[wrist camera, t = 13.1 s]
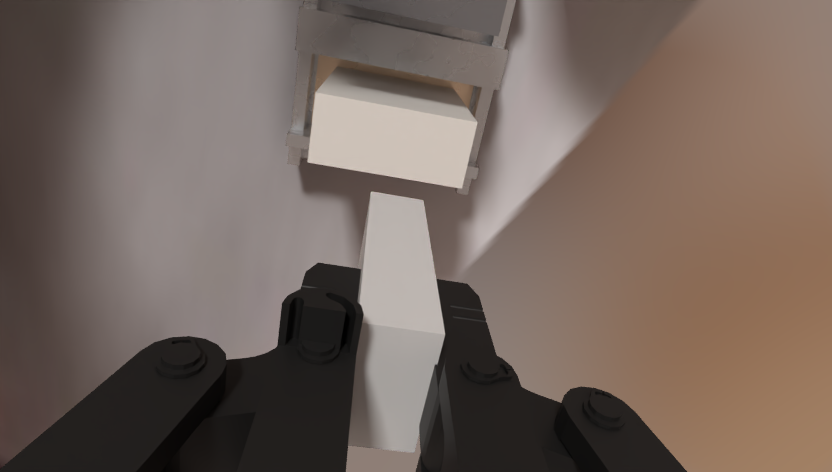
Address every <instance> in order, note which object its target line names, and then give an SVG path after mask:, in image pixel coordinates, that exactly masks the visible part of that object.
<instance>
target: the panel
mask: <svg viewBox="0 0 832 472" xmlns="http://www.w3.org/2000/svg"><path fill="white" fill-rule="evenodd" d="M477 123H478V122H477V121H476V119H475V118H474V117H473V115H472V114H471V112H470V111H469V110H468V108H467V107H466V105H465V104H464V102H463V101H462V100H461V98H460V97H459V95H458V94H457V92H456V91H455V90H454V89H452V88H447V87H442V86H437V85H432V84H426V83H421V82H416V81H411V80H406V79H400V78H395V77H390V76H385V75H380V74H374V73H369V72H364V71H359V70H354V69H349V68H343V67H338V66H337V67H336V68H335V70H334V71H333V72H332V73H331V74H330V76H329V77H328V78H327V79H326V80H325V82H324V83H323V84H322V85H321V86H320V87H319V89H318V90H317V91H316V92H315V100H314V109H313V118H312V127H311V136H310V145H309V153H308V163H314V164H320V165H326V166H332V167H338V168H343V169H349V170H355V171H361V172H367V173H373V174H379V175H384V176H390V177H396V178H402V179H408V180H414V181H420V182H425V183H431V184H437V185H443V186H449V187H455V188H461V189H462V186H463V182H464V178H465V174H466V169H467V165H468V161H469V157H470V152H471V148H472V144H473V140H474V136H475V131H476V127H477Z"/></svg>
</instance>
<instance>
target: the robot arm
mask: <svg viewBox="0 0 832 472" xmlns="http://www.w3.org/2000/svg"><path fill="white" fill-rule="evenodd" d="M482 311H483V308H482V305H481V302H480V298H479V296H478V295H477V294H476V293H475V292H474V291H473V290H472V288H471V287H470V286H469V285H468V284H464V283H458V282H452V281H445V280H439V279H436V275H435V268H434V262H433V256H432V250H431V244H430V238H429V232H428V225H427V219H426V213H425V207H424V201H423V200H419V199H413V198H408V197H402V196H396V195H390V194H384V193H378V192H372V191H371V194H370V200H369V206H368V212H367V218H366V224H365V229H364V235H363V241H362V247H361V253H360V259H359V264H358V269H357V268H350V267H343V266H337V265H330V264H324V263H317V264H316V265H314V266H313V267H312V268H310V269H309V270H308V271H306V273H305V276H304V279H303V283H302V287H301V289H300V290H298V291H296V292H294V293H292V294H290V295H288V296H287V297H286V299H285V300H284V301H283V303H282V310H281V319H280V328H279V337H278V345H277V347H276V348H275V349H273V350H271V351H269V352H268V353H265V354H262V355H259V356H255V357H249V358H242V359H230V360H226V354H225V352H224V351H223V350H222V349H221V348H220V347H219V346H218V345H217V344H215V343H213V342H211V341H209V340H206V339H203V338H196V337H190V336H187V337H172V338H168V339H165V340H161V341H158V342H155V343H153V344H151V345H150V346H148V347H146V348H145V349H143V350H141V351H140V352H139V353H138V354H136V355H135V356H134V357H133V358H132V359H130V360H129V361H128V362H127V363H126V364H125V365H123V366H122V367H121V368H120V369H119V370H117V371H116V372H115V373H114V374H113V375H111V376H110V377H109V378H108V379H107V380H106V381H104V382H103V383H102V384H101V385H100V386H98V387H97V388H96V389H95V390H94V391H92V392H91V393H90V394H89V395H88V396H86V397H85V398H84V399H83V400H82V401H81V402H79V403H78V404H77V405H76V406H75V407H73V408H72V409H71V410H70V411H69V412H67V413H66V414H65V415H64V416H63V417H62V418H60V419H59V420H58V421H57V422H56V423H54V424H53V425H52V426H51V427H50V428H48V429H47V430H46V431H45V432H44V433H42V434H41V435H40V436H39V437H38V438H37V439H35V440H34V441H33V442H32V443H31V444H29V445H28V446H27V447H26V448H25V449H23V450H22V451H21V452H20V453H19V454H18V455H16V456H15V457H14V458H13V459H12V460H10V461H9V462H8V463H7V464H6V465H4V466H3V467H2V468H1V469H0V472H346V462H347V451H348V445H349V446H357V447H367V448H376V449H385V450H393V451H402V452H411V453H414V452H415V449H416V445H417V441H418V437H419V433H420V447H421V454H420V457H419V461H418V465H417V469H416V472H687V471H686V470H685V469H684V468H683V467H682V465H681V464H680V463H679V462H678V461H677V460H676V458H675V457H674V456H673V455H672V454H671V453H670V452H669V450H668V449H667V448H666V447H665V446H664V445H663V444H662V442H661V441H660V440H659V439H658V438H657V437H656V435H655V434H654V433H653V432H652V431H651V430H650V429H649V427H648V426H647V425H646V424H645V423H644V422H643V421H642V420H641V418H640V417H639V416H638V415H637V414H636V413H635V412H634V411H633V410H632V409H631V408H630V407H629V406H628V405H627V404H625V402H623V401H622V400H620V399H618V398H617V397H615V396H613V395H612V394H610V393H608V392H605V391H602V390H599V389H596V388H589V387H578V388H573V389H570V390H569V391H568V392H567V394H565V395H564V398H563V400H562V403H560V402H557V401H554V400H552V399H548V398H546V397H543V396H540V395H538V394H535V393H533V392H530V391H528V390H526V389H524V388H522V387H521V385H520V382H519V379H518V376H517V374H516V373H515V371H514V369H513V368H512V366H510V365H509V364H508V363H507V362H506V361H504V360H503V359H502V358H500V357H498V356H497V355H496V352H495V349H494V346H493V342H492V339H491V335H490V332H489V329H488V325H487V323H486V318H485V315H484V312H482Z"/></svg>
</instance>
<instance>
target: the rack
mask: <svg viewBox="0 0 832 472" xmlns="http://www.w3.org/2000/svg"><path fill="white" fill-rule="evenodd" d="M515 3H516V0H304V7H300V8H299V18H298V28H297V38H296V48H295V50H298V51H299V56H298V66H297V76H296V85H295V95H294V105H293V115H292V124H291V129H290V130H289V132H288V133H287V138H286V146H289V154H288V163H287V164H292V165H298V166H299V165H300V164H301V162H302V160H303V158H308V153H309V145H310V136H311V127H312V118H313V109H314V100H315V92H316V91H317V90H318V89H319V87H320V86H321V85H322V84H323V83H324V82H325V80H326V79H327V78H328V77H329V76H330V74H331V73H332V72H333V71H334V70H335V68H336V67H337V66H338V67H343V68H349V69H354V70H359V71H364V72H369V73H374V74H380V75H385V76H390V77H395V78H400V79H406V80H411V81H416V82H421V83H426V84H432V85H437V86H442V87H447V88H452V89H454V90H455V91H456V92H457V94H458V95H459V97H460V98H461V100H462V101H463V102H464V104H465V105H466V107H467V108H468V110H469V111H470V112H471V114H472V115H473V117H474V118H475V119H476V121H477V122H478V123H477V127H476V131H475V136H474V140H473V144H472V148H471V152H470V157H469V161H468V165H467V169H466V174H465V178H464V182H463V186H462V189H461V188H455V190H456V193H458V194H464V195H468V192H469V188H470V184H471V180H472V179H475V180H476V179H477V175H478V171H479V167H478V165H477V163H476V160H477V156H478V152H479V148H480V143H481V139H482V135H483V131H484V127H485V123H486V119H487V115H488V111H489V107H490V103H491V99H492V95H493V91H494V90H499V88H500V84H501V80H502V76H503V72H504V68H505V64H506V60H507V56H508V52H509V50H506V49H504V47H505V43H506V39H507V35H508V31H509V27H510V23H511V19H512V15H513V11H514V7H515Z"/></svg>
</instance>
